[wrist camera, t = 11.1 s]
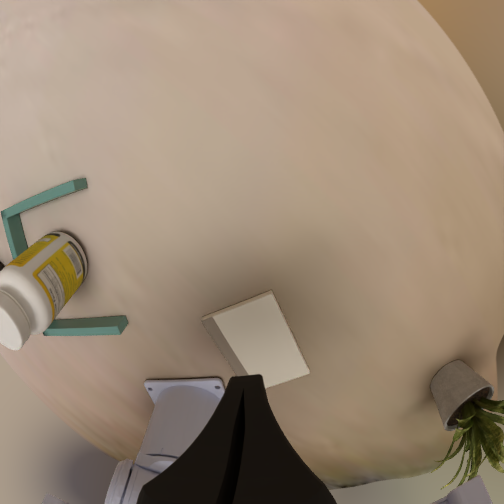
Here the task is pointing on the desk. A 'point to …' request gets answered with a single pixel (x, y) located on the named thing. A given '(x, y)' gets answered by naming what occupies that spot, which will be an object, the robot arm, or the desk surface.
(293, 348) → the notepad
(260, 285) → the desk surface
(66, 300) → the supplement bottle
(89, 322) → the bracket
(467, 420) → the house plant
